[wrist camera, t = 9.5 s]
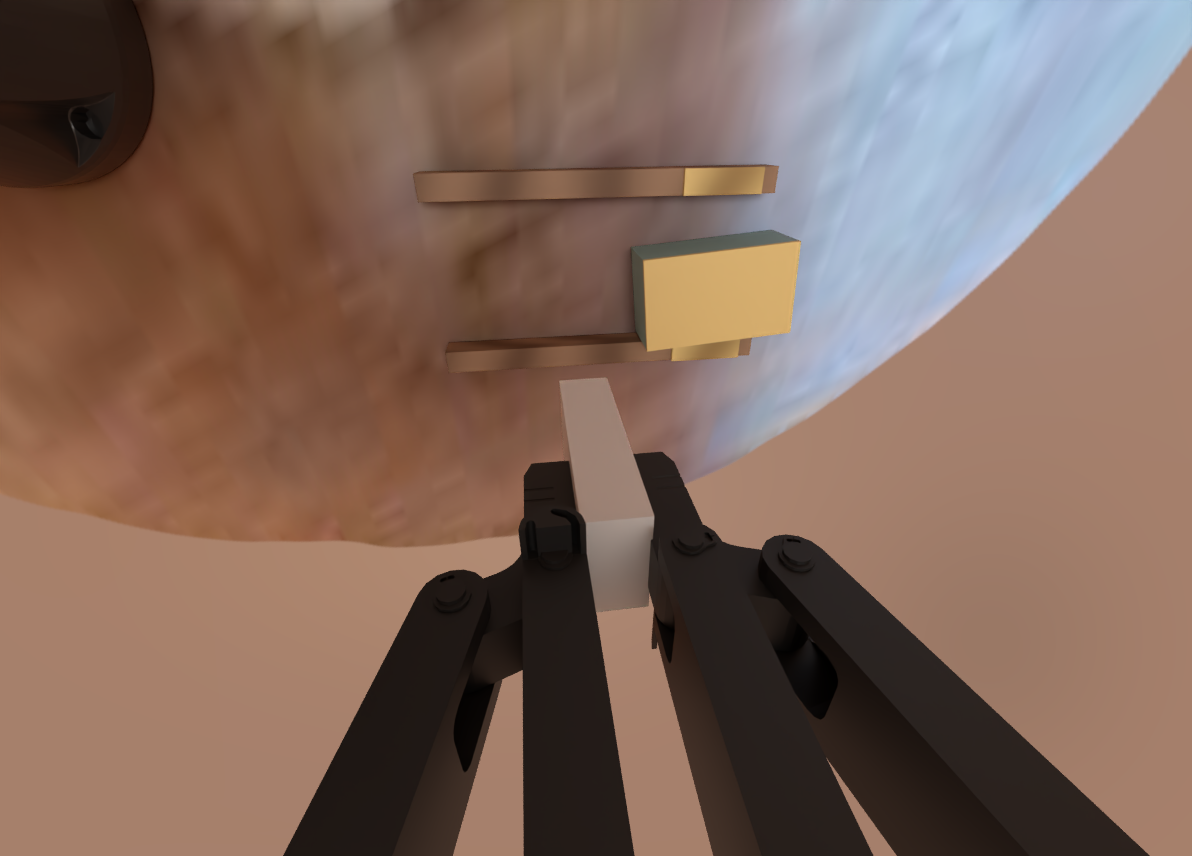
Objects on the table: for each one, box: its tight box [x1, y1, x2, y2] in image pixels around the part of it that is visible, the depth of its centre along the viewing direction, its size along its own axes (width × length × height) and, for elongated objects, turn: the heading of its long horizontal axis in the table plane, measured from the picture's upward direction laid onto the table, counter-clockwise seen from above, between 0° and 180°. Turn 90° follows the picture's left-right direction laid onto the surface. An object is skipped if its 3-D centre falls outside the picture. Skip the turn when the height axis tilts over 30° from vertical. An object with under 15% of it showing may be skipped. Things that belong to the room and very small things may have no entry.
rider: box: [631, 230, 801, 352], centre depth 34 cm, size 10×6×4 cm, turn 96°
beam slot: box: [413, 165, 779, 373], centre depth 33 cm, size 22×12×2 cm, turn 91°
